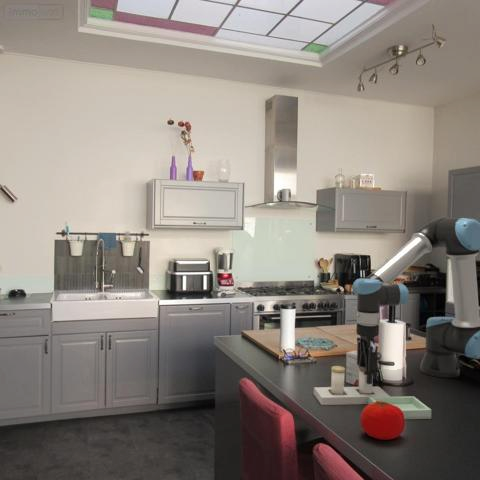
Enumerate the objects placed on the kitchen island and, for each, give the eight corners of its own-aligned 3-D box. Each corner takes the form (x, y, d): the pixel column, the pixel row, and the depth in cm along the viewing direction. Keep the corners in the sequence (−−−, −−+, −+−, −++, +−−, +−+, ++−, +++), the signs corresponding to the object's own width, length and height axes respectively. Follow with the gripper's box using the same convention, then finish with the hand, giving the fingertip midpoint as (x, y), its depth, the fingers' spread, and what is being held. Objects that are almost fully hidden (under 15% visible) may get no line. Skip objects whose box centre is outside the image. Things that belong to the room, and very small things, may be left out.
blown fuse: (368, 396, 176) (370, 365, 175) (373, 400, 171) (375, 369, 171) (356, 396, 175) (357, 365, 175) (361, 401, 171) (362, 369, 170)
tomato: (410, 444, 138) (412, 408, 138) (366, 445, 137) (367, 408, 137) (395, 427, 150) (396, 394, 149) (354, 428, 149) (355, 394, 148)
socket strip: (378, 393, 179) (379, 363, 179) (389, 403, 169) (391, 371, 169) (313, 394, 176) (314, 363, 176) (321, 404, 166) (322, 372, 166)
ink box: (371, 386, 186) (372, 355, 186) (361, 388, 184) (363, 357, 183) (354, 379, 194) (355, 350, 193) (344, 381, 191) (345, 351, 190)
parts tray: (413, 404, 169) (413, 396, 169) (431, 418, 157) (431, 409, 157) (368, 405, 167) (368, 397, 167) (382, 419, 155) (383, 410, 155)
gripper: (348, 318, 180) (346, 381, 181) (366, 329, 163) (363, 399, 164) (368, 318, 181) (366, 381, 182) (388, 329, 164) (385, 398, 165)
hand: (365, 389), depth 173 cm, fingers closed on blown fuse, 4 cm apart
